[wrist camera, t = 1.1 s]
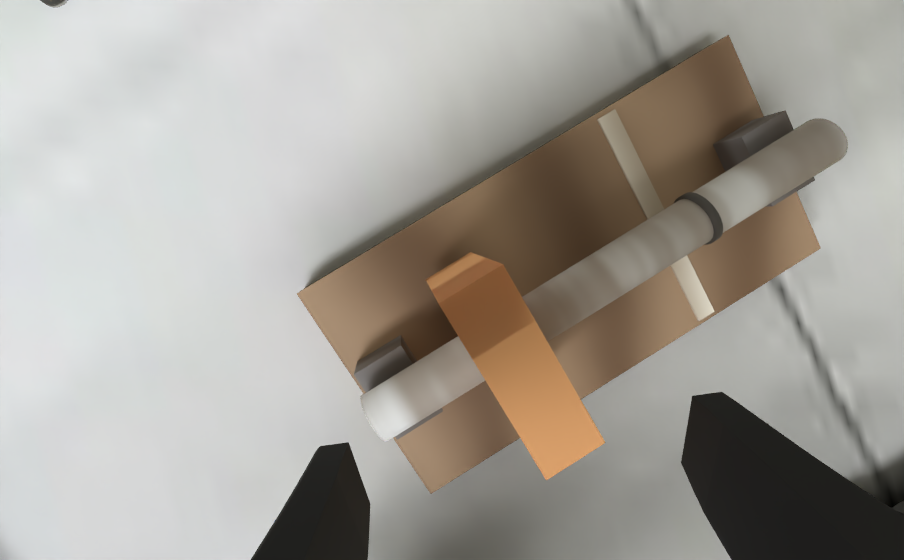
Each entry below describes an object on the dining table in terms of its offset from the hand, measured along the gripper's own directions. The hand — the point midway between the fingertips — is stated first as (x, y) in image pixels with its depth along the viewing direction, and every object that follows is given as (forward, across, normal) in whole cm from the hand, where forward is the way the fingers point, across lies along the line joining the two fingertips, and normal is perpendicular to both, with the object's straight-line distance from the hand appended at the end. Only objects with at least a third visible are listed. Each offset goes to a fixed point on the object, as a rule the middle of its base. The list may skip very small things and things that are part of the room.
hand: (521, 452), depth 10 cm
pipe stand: (+11, -4, +2) cm, 12 cm away
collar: (+8, 0, +2) cm, 8 cm away
